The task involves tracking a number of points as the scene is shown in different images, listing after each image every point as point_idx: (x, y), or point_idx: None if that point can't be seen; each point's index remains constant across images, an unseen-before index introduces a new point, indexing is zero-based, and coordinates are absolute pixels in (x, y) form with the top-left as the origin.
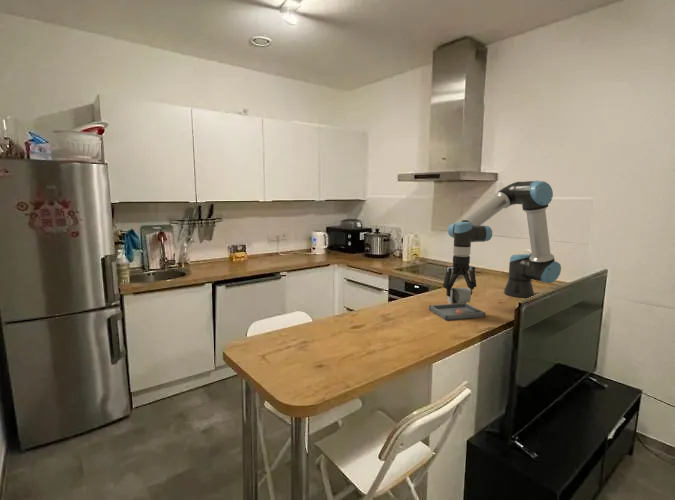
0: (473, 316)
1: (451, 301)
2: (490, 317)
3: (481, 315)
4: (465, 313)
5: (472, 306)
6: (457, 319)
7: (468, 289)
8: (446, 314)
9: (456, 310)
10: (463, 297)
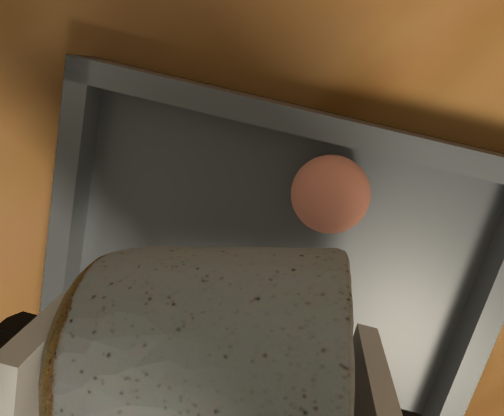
0: (220, 87)
1: (369, 340)
2: (40, 29)
3: (124, 65)
4: (297, 133)
5: (46, 277)
6: (405, 131)
7: (25, 387)
8: (415, 271)
9: (360, 217)
10: (260, 258)
